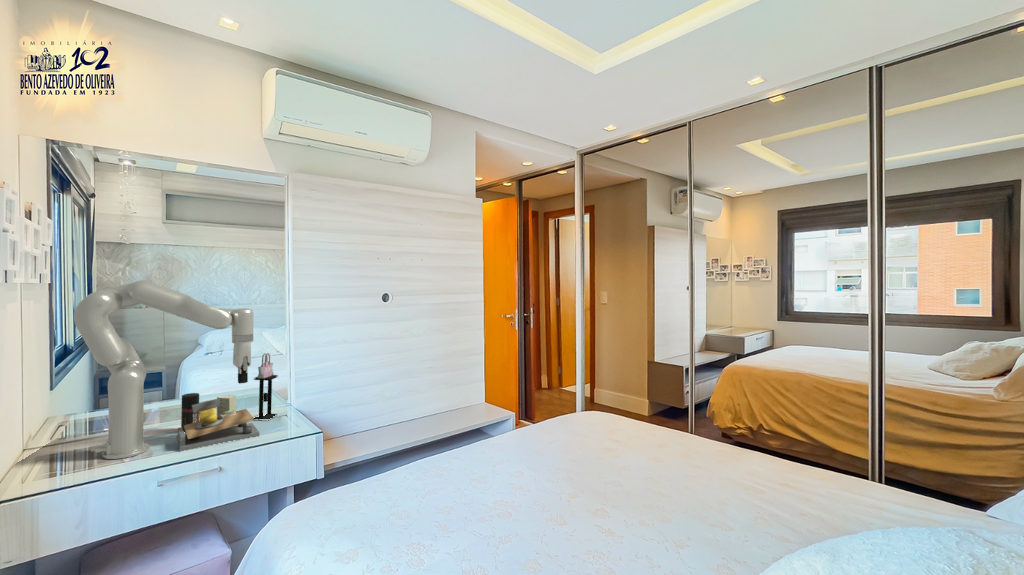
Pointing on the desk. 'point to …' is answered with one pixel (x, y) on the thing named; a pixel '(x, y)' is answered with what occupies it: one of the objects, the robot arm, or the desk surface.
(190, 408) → the deodorant
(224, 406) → the skincare box
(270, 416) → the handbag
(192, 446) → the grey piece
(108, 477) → the desk surface
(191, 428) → the level plate
